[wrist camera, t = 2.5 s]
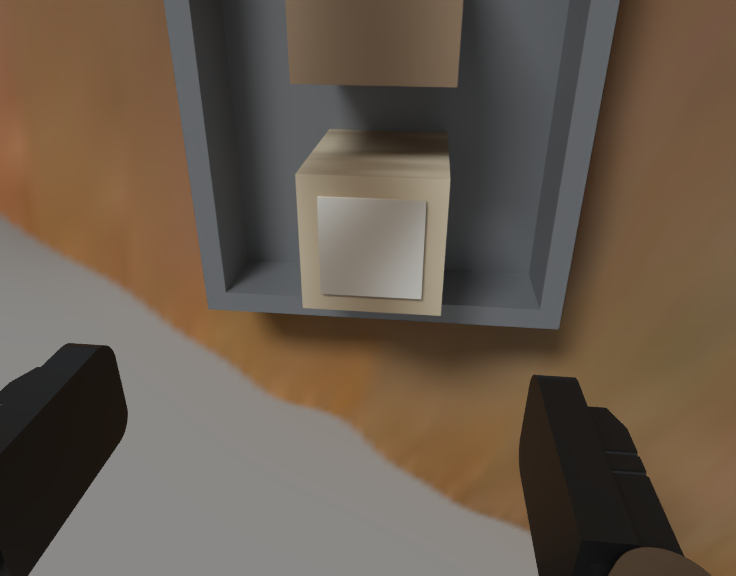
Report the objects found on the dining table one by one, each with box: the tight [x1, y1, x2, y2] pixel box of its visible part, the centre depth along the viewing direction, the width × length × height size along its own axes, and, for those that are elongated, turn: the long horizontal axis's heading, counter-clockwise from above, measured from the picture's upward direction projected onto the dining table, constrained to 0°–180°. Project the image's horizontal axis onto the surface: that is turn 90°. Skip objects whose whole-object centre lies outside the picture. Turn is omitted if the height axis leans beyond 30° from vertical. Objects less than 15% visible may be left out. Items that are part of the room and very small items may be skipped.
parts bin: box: [164, 0, 620, 329], centre depth 20 cm, size 14×16×4 cm
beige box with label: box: [295, 129, 451, 316], centre depth 20 cm, size 4×4×6 cm
